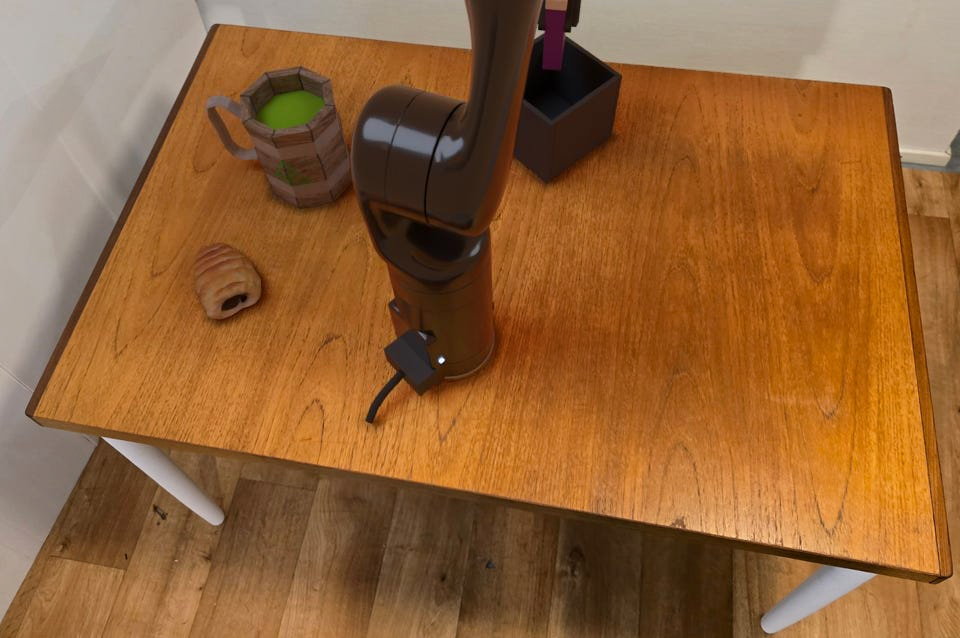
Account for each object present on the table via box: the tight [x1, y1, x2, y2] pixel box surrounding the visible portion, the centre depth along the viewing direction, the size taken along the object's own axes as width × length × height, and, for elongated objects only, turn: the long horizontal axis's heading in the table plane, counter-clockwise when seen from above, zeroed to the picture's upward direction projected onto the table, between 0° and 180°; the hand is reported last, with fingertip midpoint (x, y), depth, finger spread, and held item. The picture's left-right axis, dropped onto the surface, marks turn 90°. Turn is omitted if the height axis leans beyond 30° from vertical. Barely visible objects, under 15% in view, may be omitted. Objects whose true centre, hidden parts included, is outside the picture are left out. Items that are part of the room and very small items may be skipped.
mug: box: [205, 65, 353, 209], centre depth 86 cm, size 16×11×12 cm
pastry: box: [192, 241, 262, 320], centre depth 82 cm, size 9×7×4 cm
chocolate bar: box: [543, 0, 568, 70], centre depth 78 cm, size 2×5×9 cm, turn 172°
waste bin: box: [513, 32, 623, 184], centre depth 89 cm, size 11×11×10 cm
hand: (554, 30), depth 77 cm, fingers closed on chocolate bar, 2 cm apart
